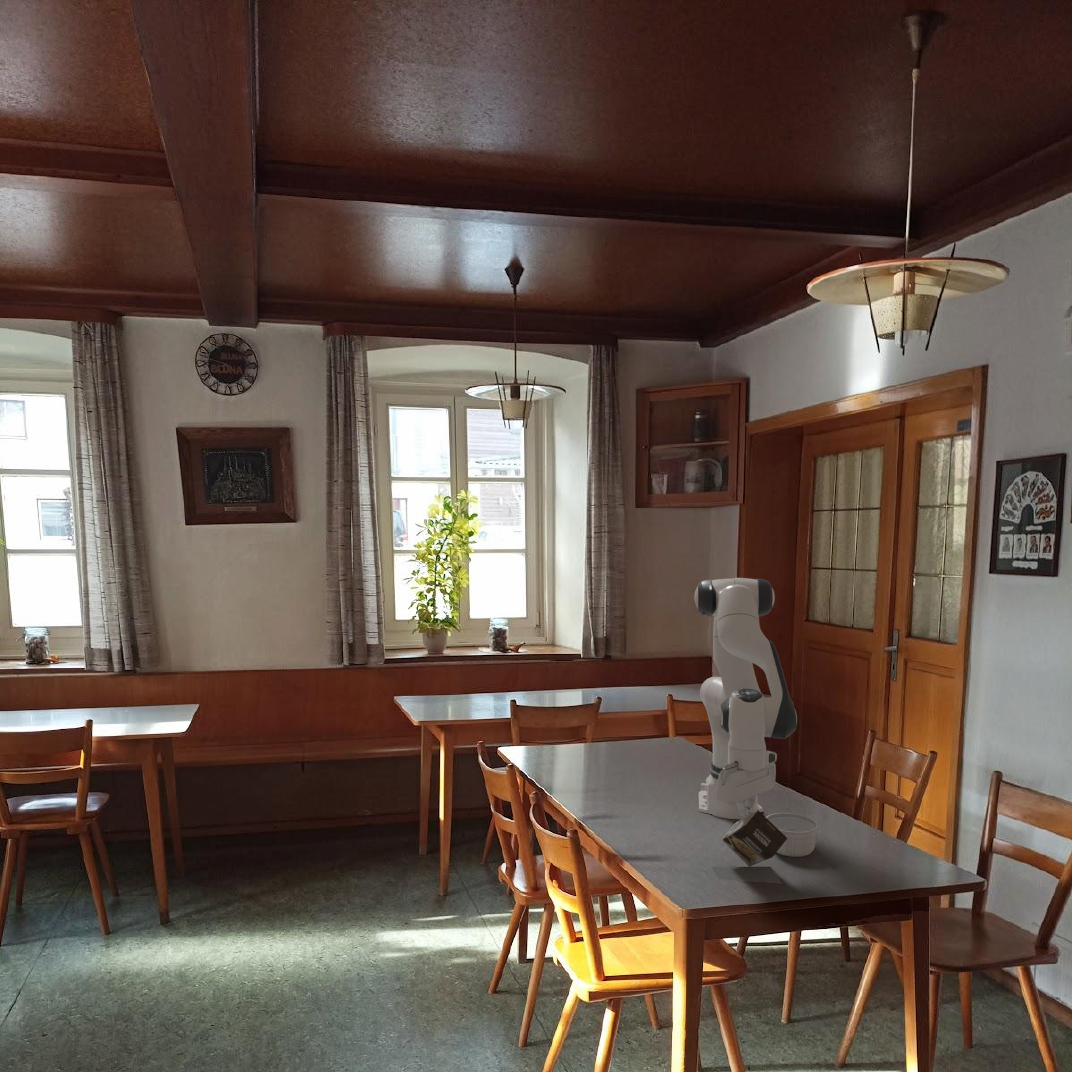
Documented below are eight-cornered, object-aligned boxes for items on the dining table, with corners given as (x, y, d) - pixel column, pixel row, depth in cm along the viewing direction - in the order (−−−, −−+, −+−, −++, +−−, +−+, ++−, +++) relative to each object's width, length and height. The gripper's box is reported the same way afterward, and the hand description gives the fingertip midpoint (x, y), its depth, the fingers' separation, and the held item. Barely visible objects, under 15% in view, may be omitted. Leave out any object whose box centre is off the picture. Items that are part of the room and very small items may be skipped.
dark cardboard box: (720, 840, 211) (741, 828, 196) (736, 821, 213) (757, 808, 199) (749, 868, 208) (772, 858, 194) (764, 848, 211) (788, 837, 197)
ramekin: (753, 848, 219) (754, 821, 219) (780, 833, 228) (780, 808, 228) (801, 864, 210) (802, 836, 209) (827, 848, 219) (827, 822, 218)
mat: (713, 868, 207) (713, 866, 207) (770, 868, 207) (770, 866, 207) (723, 888, 197) (723, 886, 197) (783, 887, 197) (783, 885, 197)
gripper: (733, 769, 197) (732, 829, 197) (780, 752, 211) (779, 808, 211) (710, 763, 201) (709, 821, 202) (758, 747, 215) (757, 801, 216)
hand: (745, 814), depth 207 cm, fingers closed
